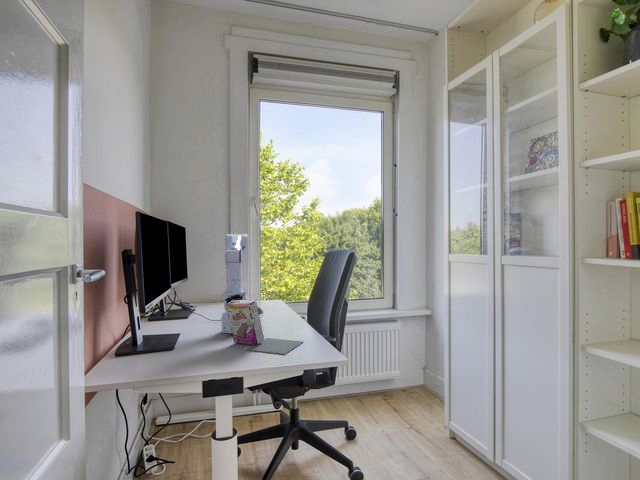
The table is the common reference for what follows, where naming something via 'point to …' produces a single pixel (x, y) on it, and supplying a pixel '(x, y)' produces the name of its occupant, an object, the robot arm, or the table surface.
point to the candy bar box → (245, 321)
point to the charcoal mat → (275, 346)
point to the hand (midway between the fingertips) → (234, 314)
